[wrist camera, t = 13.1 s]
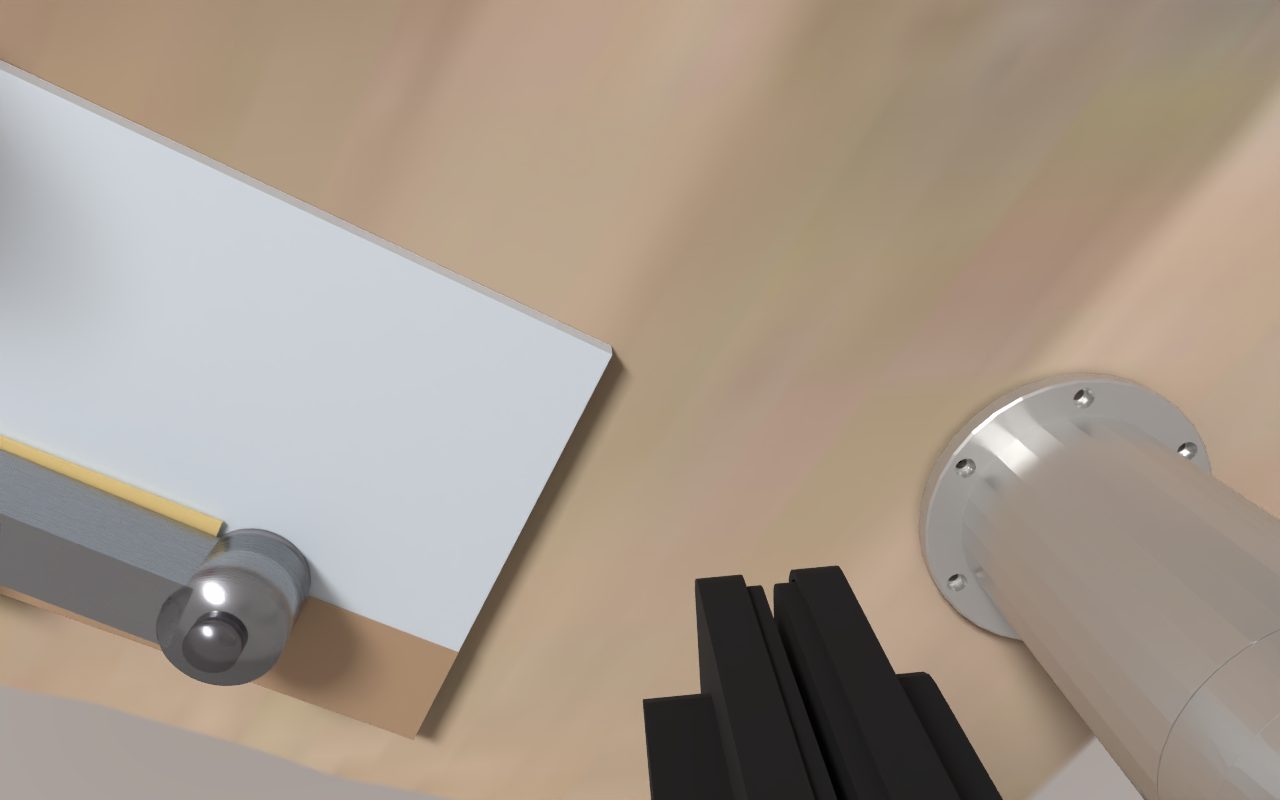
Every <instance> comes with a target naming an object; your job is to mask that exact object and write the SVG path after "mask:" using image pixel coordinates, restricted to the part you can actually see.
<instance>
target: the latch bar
mask: <svg viewBox="0 0 1280 800" xmlns="http://www.w3.org/2000/svg"><path fill="white" fill-rule="evenodd" d="M0 585H2V586H4V587H7V588H10V589H12V590H15V591H18V592H20V593H23V594H26V595H28V596H31V597H34V598H36V599H39V600H42V601H44V602H47V603H50V604H52V605H55V606H58V607H60V608H63V609H65V610H68V611H71V612H73V613H76V614H79V615H81V616H84V617H87V618H89V619H92V620H95V621H97V622H100V623H103V624H105V625H108V626H111V627H113V628H116V629H119V630H121V631H124V632H127V633H129V634H132V635H135V636H137V637H140V638H143V639H145V640H148V641H151V642H153V643H156V644H159V645H160V647H161V649H162V651H163V653H164V654H165V656H166V657H167V659H168V660H169V661H170V662H171V663H172V664H173V665H174V666H175V667H176V668H177V669H179V670H180V671H181V672H183V673H184V674H186V675H188V676H189V677H191V678H193V679H196V680H198V681H201V682H204V683H208V684H213V685H220V686H233V685H240V684H245V683H248V682H251V681H254V680H256V679H258V678H260V677H261V676H263V675H264V674H266V673H267V672H268V671H269V670H270V669H272V667H273V666H274V665H275V664H276V662H277V661H278V659H279V657H280V655H281V653H282V651H283V649H284V647H285V645H286V643H287V641H288V639H289V637H290V635H291V633H292V631H293V629H294V627H295V625H296V623H297V621H298V619H299V617H300V615H301V613H302V611H303V609H304V607H305V605H306V602H307V600H308V596H309V587H310V586H309V578H308V574H307V572H306V569H305V567H304V565H303V563H302V562H301V560H300V559H299V558H298V556H297V555H296V554H295V553H294V552H293V551H292V550H291V549H289V548H288V547H287V546H285V545H284V544H282V543H281V542H279V541H277V540H275V539H273V538H270V537H267V536H263V535H259V534H252V533H239V534H232V535H228V536H225V537H222V538H218V537H216V536H213V535H211V534H208V533H206V532H203V531H201V530H199V529H196V528H194V527H191V526H189V525H186V524H184V523H181V522H179V521H176V520H174V519H171V518H169V517H167V516H164V515H162V514H159V513H157V512H154V511H152V510H149V509H147V508H144V507H142V506H139V505H137V504H135V503H132V502H130V501H127V500H125V499H122V498H120V497H117V496H115V495H112V494H110V493H107V492H105V491H103V490H100V489H98V488H95V487H93V486H90V485H88V484H85V483H83V482H80V481H78V480H75V479H73V478H71V477H68V476H66V475H63V474H61V473H58V472H56V471H53V470H51V469H48V468H46V467H43V466H41V465H39V464H36V463H34V462H31V461H29V460H26V459H24V458H21V457H19V456H16V455H14V454H11V453H9V452H7V451H4V450H2V449H0Z"/></svg>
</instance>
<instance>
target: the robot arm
mask: <svg viewBox="0 0 1280 800" xmlns="http://www.w3.org/2000/svg"><path fill="white" fill-rule="evenodd" d="M1077 392H1078V393H1077ZM1076 393H1077V394H1076ZM1075 394H1076V395H1075ZM961 460H962V461H961ZM959 461H961V462H960V463H959V464H957V463H958V462H959ZM919 537H920V543H921V550H922V556H923V558H924V561H925V563H926V565H927V568H928V570H929V573H930V575H931V577H932V579H933V580H934V582H935V583H936V585H937V587H938V588H939V590H940V591H941V593H942V594H943V596H944V597H945V598H946V599H947V600H948V601H949V602H950V604H951V605H952V606H953V607H954V608H955V609H956V610H957V611H958V612H959V613H960V614H961V615H963V616H964V617H965V618H967V619H968V620H970V621H971V622H972V623H974V624H975V625H977V626H979V627H981V628H983V629H985V630H988V631H990V632H992V633H995V634H997V635H999V636H1004V637H1008V638H1013V639H1017V640H1022V641H1023V642H1024V643H1025V644H1026V646H1027V647H1028V648H1029V650H1030V651H1031V652H1032V654H1033V655H1034V656H1035V657H1036V659H1037V660H1038V661H1039V663H1040V664H1041V665H1042V667H1043V668H1044V669H1045V671H1046V672H1047V673H1048V674H1049V676H1050V677H1051V678H1052V680H1053V681H1054V682H1055V684H1056V685H1057V686H1058V687H1059V689H1060V690H1061V691H1062V693H1063V694H1064V695H1065V697H1066V698H1067V699H1068V701H1069V702H1070V703H1071V704H1072V706H1073V707H1074V708H1075V710H1076V711H1077V712H1078V714H1079V715H1080V716H1081V718H1082V719H1083V720H1084V721H1085V723H1086V724H1087V725H1088V727H1089V728H1090V729H1091V731H1092V732H1093V733H1094V734H1095V736H1096V737H1097V738H1098V740H1099V741H1100V742H1101V744H1102V745H1103V746H1104V747H1105V749H1106V750H1107V751H1108V753H1109V754H1110V755H1111V757H1112V758H1113V759H1114V761H1115V762H1116V763H1117V765H1118V766H1119V767H1120V768H1121V770H1122V771H1123V772H1124V774H1125V775H1126V776H1127V778H1128V779H1129V780H1130V781H1131V783H1132V784H1133V785H1134V787H1135V788H1136V789H1137V791H1138V792H1139V793H1140V794H1141V796H1142V797H1143V798H1144V800H1280V520H1279V519H1277V518H1276V517H1274V516H1273V515H1271V514H1270V513H1268V512H1267V511H1265V510H1264V509H1262V508H1261V507H1259V506H1258V505H1256V504H1254V503H1253V502H1251V501H1250V500H1248V499H1247V498H1245V497H1244V496H1242V495H1241V494H1239V493H1238V492H1236V491H1235V490H1233V489H1232V488H1230V487H1229V486H1227V485H1226V484H1224V483H1223V482H1221V481H1219V480H1218V479H1216V478H1215V477H1213V476H1212V472H1211V466H1210V462H1209V458H1208V454H1207V451H1206V447H1205V445H1204V443H1203V441H1202V439H1201V437H1200V435H1199V434H1198V432H1197V430H1196V428H1195V426H1194V425H1193V424H1192V422H1191V421H1190V420H1189V419H1188V418H1187V417H1186V416H1185V415H1184V414H1183V412H1182V411H1181V410H1180V409H1179V408H1178V407H1177V406H1175V405H1174V404H1172V403H1171V402H1169V401H1168V400H1166V399H1165V398H1163V397H1162V396H1161V395H1159V394H1158V393H1156V392H1154V391H1152V390H1150V389H1148V388H1146V387H1144V386H1142V385H1140V384H1138V383H1136V382H1134V381H1131V380H1127V379H1123V378H1120V377H1116V376H1112V375H1106V374H1092V373H1077V374H1068V375H1060V376H1053V377H1050V378H1046V379H1043V380H1039V381H1036V382H1033V383H1029V384H1026V385H1024V386H1022V387H1020V388H1018V389H1016V390H1014V391H1012V392H1010V393H1008V394H1006V395H1004V396H1002V397H1000V398H998V399H997V400H995V401H994V402H993V403H991V404H990V405H988V406H987V407H986V408H984V409H983V410H981V411H980V412H978V413H977V414H976V415H975V416H974V417H973V418H972V419H971V420H970V421H969V422H968V423H967V424H966V425H965V426H964V427H962V428H961V429H960V430H959V431H958V432H957V433H956V434H955V436H954V437H953V438H952V440H951V441H950V443H949V444H948V445H947V447H946V448H945V450H944V451H943V452H942V454H941V455H940V456H939V458H938V460H937V462H936V464H935V466H934V468H933V470H932V472H931V475H930V477H929V479H928V481H927V483H926V487H925V491H924V495H923V498H922V502H921V506H920V518H919ZM695 597H696V615H697V632H698V650H699V667H700V685H701V694H693V695H683V696H673V697H663V698H653V699H643V709H644V721H645V733H646V745H647V757H648V769H649V780H650V791H651V800H1003V799H1002V797H1001V796H1000V794H999V792H998V791H997V789H996V787H995V785H994V784H993V782H992V780H991V778H990V777H989V775H988V773H987V771H986V770H985V768H984V766H983V764H982V763H981V761H980V759H979V757H978V756H977V754H976V752H975V750H974V749H973V747H972V745H971V744H970V742H969V740H968V738H967V737H966V735H965V733H964V731H963V730H962V728H961V726H960V724H959V723H958V721H957V719H956V717H955V716H954V714H953V712H952V710H951V709H950V707H949V705H948V704H947V702H946V700H945V698H944V697H943V695H942V693H941V691H940V690H939V688H938V686H937V684H936V683H935V682H934V680H933V679H932V677H931V676H930V675H929V674H927V673H925V672H915V673H905V674H895V672H894V670H893V668H892V666H891V664H890V662H889V660H888V659H887V657H886V655H885V653H884V651H883V649H882V647H881V645H880V643H879V641H878V639H877V637H876V635H875V633H874V631H873V630H872V628H871V626H870V624H869V622H868V620H867V618H866V616H865V614H864V612H863V610H862V608H861V606H860V604H859V603H858V601H857V599H856V597H855V595H854V593H853V591H852V589H851V587H850V585H849V583H848V581H847V579H846V577H845V575H844V574H843V572H842V570H841V569H840V567H839V566H827V567H817V568H806V569H796V570H791V572H790V575H789V583H779V584H775V585H774V618H773V615H772V612H771V610H770V607H769V604H768V601H767V598H766V595H765V593H764V590H763V587H762V586H761V585H758V586H748V587H746V584H745V581H744V578H743V576H742V575H732V576H722V577H711V578H700V579H696V580H695Z"/></svg>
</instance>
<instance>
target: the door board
mask: <svg viewBox="0 0 1280 800" xmlns="http://www.w3.org/2000/svg"><path fill="white" fill-rule="evenodd" d="M611 356H612V348H611V345H608V344H606V343H604V342H602V341H600V340H598V339H596V338H593V337H591V336H589V335H587V334H585V333H583V332H581V331H579V330H576V329H574V328H572V327H570V326H568V325H566V324H564V323H561V322H559V321H557V320H555V319H553V318H551V317H549V316H546V315H544V314H542V313H540V312H538V311H536V310H534V309H532V308H529V307H527V306H525V305H523V304H521V303H519V302H517V301H514V300H512V299H510V298H508V297H506V296H504V295H502V294H500V293H497V292H495V291H493V290H491V289H489V288H487V287H485V286H482V285H480V284H478V283H476V282H474V281H472V280H470V279H467V278H465V277H463V276H461V275H459V274H457V273H455V272H453V271H450V270H448V269H446V268H444V267H442V266H440V265H438V264H435V263H433V262H431V261H429V260H427V259H425V258H423V257H421V256H418V255H416V254H414V253H412V252H410V251H408V250H406V249H403V248H401V247H399V246H397V245H395V244H393V243H391V242H388V241H386V240H384V239H382V238H380V237H378V236H376V235H374V234H371V233H369V232H367V231H365V230H363V229H361V228H359V227H356V226H354V225H352V224H350V223H348V222H346V221H344V220H342V219H339V218H337V217H335V216H333V215H331V214H329V213H327V212H324V211H322V210H320V209H318V208H316V207H314V206H312V205H309V204H307V203H305V202H303V201H301V200H299V199H297V198H295V197H292V196H290V195H288V194H286V193H284V192H282V191H280V190H277V189H275V188H273V187H271V186H269V185H267V184H265V183H263V182H260V181H258V180H256V179H254V178H252V177H250V176H248V175H245V174H243V173H241V172H239V171H237V170H235V169H233V168H230V167H228V166H226V165H224V164H222V163H220V162H218V161H216V160H213V159H211V158H209V157H207V156H205V155H203V154H201V153H198V152H196V151H194V150H192V149H190V148H188V147H186V146H183V145H181V144H179V143H177V142H175V141H173V140H171V139H169V138H166V137H164V136H162V135H160V134H158V133H156V132H154V131H151V130H149V129H147V128H145V127H143V126H141V125H139V124H137V123H134V122H132V121H130V120H128V119H126V118H124V117H122V116H119V115H117V114H115V113H113V112H111V111H109V110H107V109H104V108H102V107H100V106H98V105H96V104H94V103H92V102H90V101H87V100H85V99H83V98H81V97H79V96H77V95H75V94H72V93H70V92H68V91H66V90H64V89H62V88H60V87H58V86H55V85H53V84H51V83H49V82H47V81H45V80H43V79H40V78H38V77H36V76H34V75H32V74H30V73H28V72H25V71H23V70H21V69H19V68H17V67H15V66H13V65H11V64H8V63H6V62H4V61H2V60H0V449H2V450H4V451H7V452H9V453H11V454H14V455H16V456H19V457H21V458H24V459H26V460H29V461H31V462H34V463H36V464H39V465H41V466H43V467H46V468H48V469H51V470H53V471H56V472H58V473H61V474H63V475H66V476H68V477H71V478H73V479H75V480H78V481H80V482H83V483H85V484H88V485H90V486H93V487H95V488H98V489H100V490H103V491H105V492H107V493H110V494H112V495H115V496H117V497H120V498H122V499H125V500H127V501H130V502H132V503H135V504H137V505H139V506H142V507H144V508H147V509H149V510H152V511H154V512H157V513H159V514H162V515H164V516H167V517H169V518H171V519H174V520H176V521H179V522H181V523H184V524H186V525H189V526H191V527H194V528H196V529H199V530H201V531H203V532H206V533H208V534H211V535H213V536H216V537H218V538H222V537H225V536H228V535H232V534H239V533H252V534H259V535H263V536H267V537H270V538H273V539H275V540H277V541H279V542H281V543H282V544H284V545H285V546H287V547H288V548H289V549H291V550H292V551H293V552H294V553H295V554H296V555H297V556H298V558H299V559H300V560H301V562H302V563H303V565H304V567H305V569H306V572H307V574H308V578H309V586H310V587H309V596H308V600H307V602H306V605H305V607H304V609H303V611H302V613H301V615H300V617H299V619H298V621H297V623H296V625H295V627H294V629H293V631H292V633H291V635H290V637H289V639H288V641H287V643H286V645H285V647H284V649H283V651H282V653H281V655H280V657H279V659H278V661H277V662H276V664H275V665H274V666H273V667H272V669H270V670H269V671H268V672H267V673H266V674H264V675H263V676H261V677H260V678H258V679H256V680H254V681H251V682H252V683H254V684H257V685H260V686H263V687H266V688H268V689H271V690H274V691H277V692H280V693H283V694H285V695H288V696H291V697H294V698H297V699H300V700H302V701H305V702H308V703H311V704H314V705H317V706H319V707H322V708H325V709H328V710H331V711H334V712H336V713H339V714H342V715H345V716H348V717H351V718H353V719H356V720H359V721H362V722H365V723H368V724H370V725H373V726H376V727H379V728H382V729H385V730H387V731H390V732H393V733H396V734H399V735H402V736H404V737H407V738H410V739H413V740H414V738H415V736H416V734H417V732H418V730H419V728H420V726H421V724H422V723H423V721H424V719H425V717H426V715H427V713H428V711H429V709H430V707H431V705H432V703H433V701H434V699H435V697H436V695H437V694H438V692H439V690H440V688H441V686H442V684H443V682H444V680H445V678H446V676H447V674H448V672H449V670H450V668H451V667H452V665H453V663H454V661H455V659H456V657H457V655H458V652H459V650H460V648H461V646H462V644H463V642H464V641H465V639H466V637H467V635H468V633H469V631H470V629H471V627H472V625H473V623H474V621H475V619H476V617H477V615H478V613H479V612H480V610H481V608H482V606H483V604H484V602H485V600H486V598H487V596H488V594H489V592H490V590H491V588H492V586H493V584H494V583H495V581H496V579H497V577H498V575H499V573H500V571H501V569H502V567H503V565H504V563H505V561H506V559H507V557H508V555H509V554H510V552H511V550H512V548H513V546H514V544H515V542H516V540H517V538H518V536H519V534H520V532H521V530H522V528H523V526H524V525H525V523H526V521H527V519H528V517H529V515H530V513H531V511H532V509H533V507H534V505H535V503H536V501H537V499H538V497H539V496H540V494H541V492H542V490H543V488H544V486H545V484H546V482H547V480H548V478H549V476H550V474H551V472H552V470H553V468H554V467H555V465H556V463H557V461H558V459H559V457H560V455H561V453H562V451H563V449H564V447H565V445H566V443H567V441H568V439H569V438H570V436H571V434H572V432H573V430H574V428H575V426H576V424H577V422H578V420H579V418H580V416H581V414H582V412H583V410H584V409H585V407H586V405H587V403H588V401H589V399H590V397H591V395H592V393H593V391H594V389H595V387H596V385H597V383H598V381H599V380H600V378H601V376H602V374H603V372H604V370H605V368H606V366H607V364H608V362H609V360H610V358H611ZM0 594H2V595H5V596H8V597H11V598H14V599H17V600H19V601H22V602H25V603H28V604H31V605H34V606H36V607H39V608H42V609H45V610H48V611H51V612H53V613H56V614H59V615H62V616H65V617H68V618H70V619H73V620H76V621H79V622H82V623H84V624H87V625H90V626H93V627H96V628H99V629H101V630H104V631H107V632H110V633H113V634H116V635H118V636H121V637H124V638H127V639H130V640H133V641H135V642H138V643H141V644H144V645H147V646H150V647H152V648H155V649H158V650H161V651H162V649H161V647H160V645H159V644H156V643H153V642H151V641H148V640H145V639H143V638H140V637H137V636H135V635H132V634H129V633H127V632H124V631H121V630H119V629H116V628H113V627H111V626H108V625H105V624H103V623H100V622H97V621H95V620H92V619H89V618H87V617H84V616H81V615H79V614H76V613H73V612H71V611H68V610H65V609H63V608H60V607H58V606H55V605H52V604H50V603H47V602H44V601H42V600H39V599H36V598H34V597H31V596H28V595H26V594H23V593H20V592H18V591H15V590H12V589H10V588H7V587H4V586H2V585H0Z"/></svg>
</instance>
